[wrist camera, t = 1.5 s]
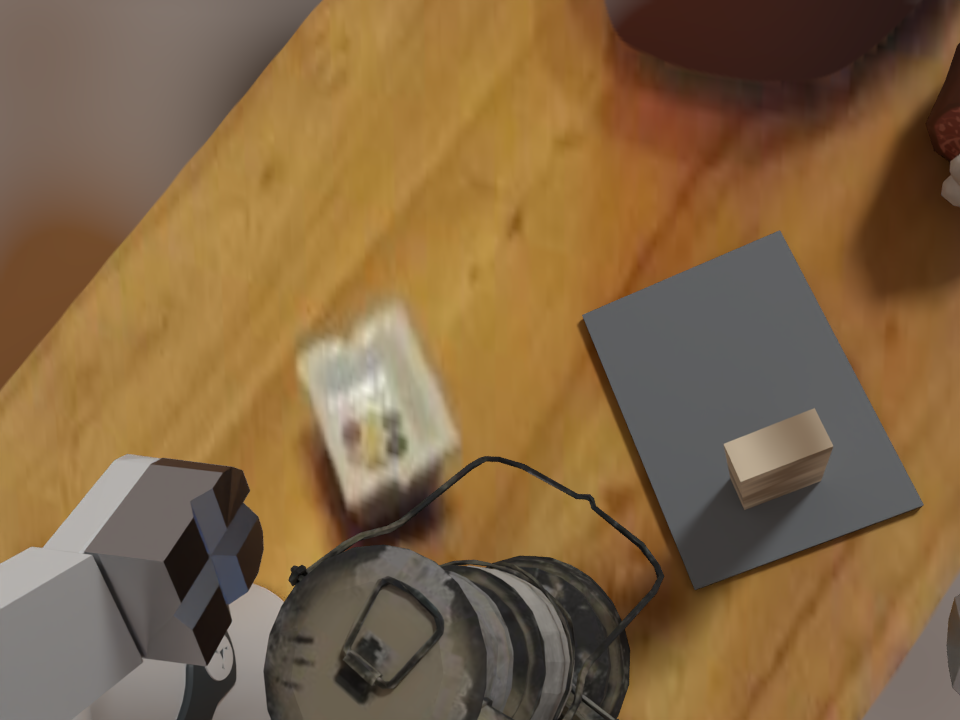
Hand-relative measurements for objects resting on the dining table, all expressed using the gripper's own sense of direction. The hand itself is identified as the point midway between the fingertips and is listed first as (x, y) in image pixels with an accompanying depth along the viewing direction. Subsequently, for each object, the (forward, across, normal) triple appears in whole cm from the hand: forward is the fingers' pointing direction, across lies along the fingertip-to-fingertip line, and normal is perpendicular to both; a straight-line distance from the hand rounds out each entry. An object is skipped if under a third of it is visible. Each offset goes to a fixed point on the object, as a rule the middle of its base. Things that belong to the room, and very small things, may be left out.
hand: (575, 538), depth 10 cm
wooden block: (+42, +7, -37) cm, 57 cm away
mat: (+47, +4, -35) cm, 59 cm away
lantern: (+34, -8, -46) cm, 58 cm away
